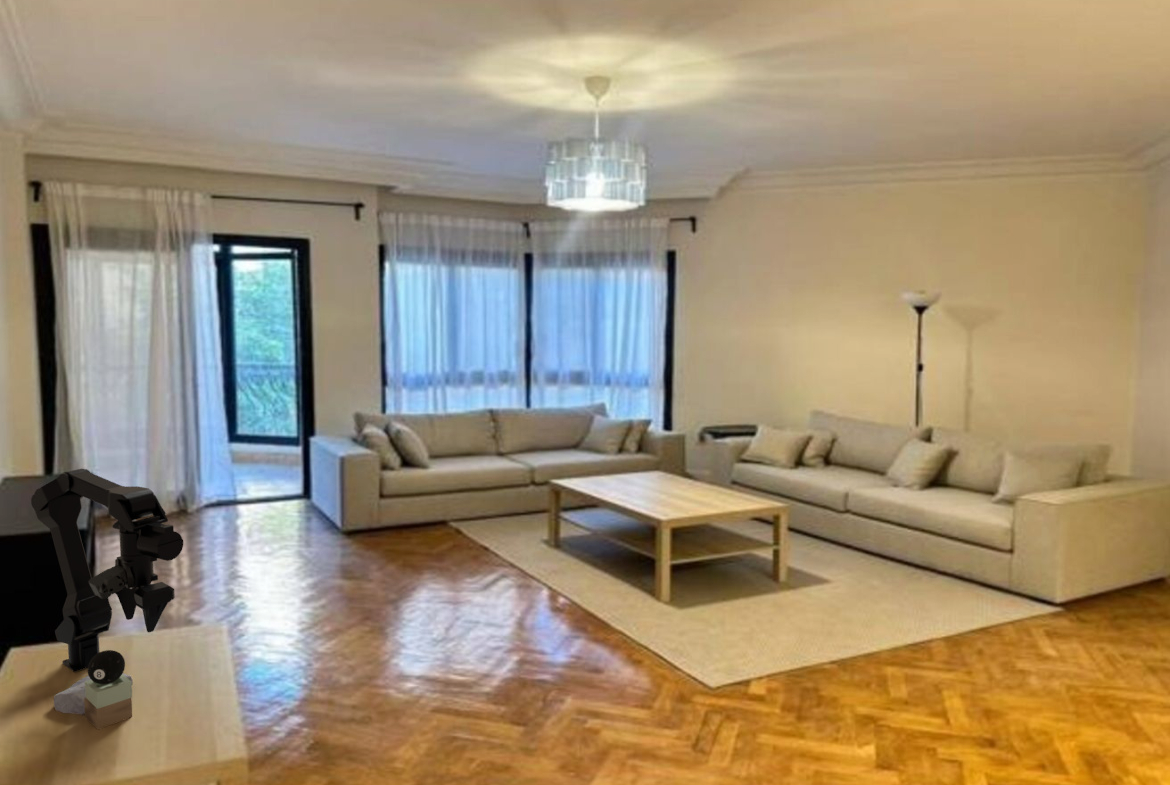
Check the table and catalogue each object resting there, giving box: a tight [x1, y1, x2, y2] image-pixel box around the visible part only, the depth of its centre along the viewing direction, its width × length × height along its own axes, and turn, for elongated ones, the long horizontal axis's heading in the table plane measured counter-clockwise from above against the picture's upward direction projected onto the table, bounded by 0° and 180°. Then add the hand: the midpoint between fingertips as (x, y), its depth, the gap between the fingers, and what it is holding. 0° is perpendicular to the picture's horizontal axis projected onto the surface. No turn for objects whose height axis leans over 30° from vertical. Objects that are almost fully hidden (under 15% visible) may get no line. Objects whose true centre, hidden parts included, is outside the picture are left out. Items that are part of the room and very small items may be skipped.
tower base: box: [84, 698, 133, 730], centre depth 157 cm, size 6×6×4 cm
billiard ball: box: [87, 649, 126, 684], centre depth 155 cm, size 6×6×6 cm
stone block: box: [53, 673, 134, 715], centre depth 163 cm, size 12×5×10 cm
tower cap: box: [85, 673, 133, 709], centre depth 156 cm, size 6×6×3 cm
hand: (139, 625), depth 168 cm, fingers open, 9 cm apart
